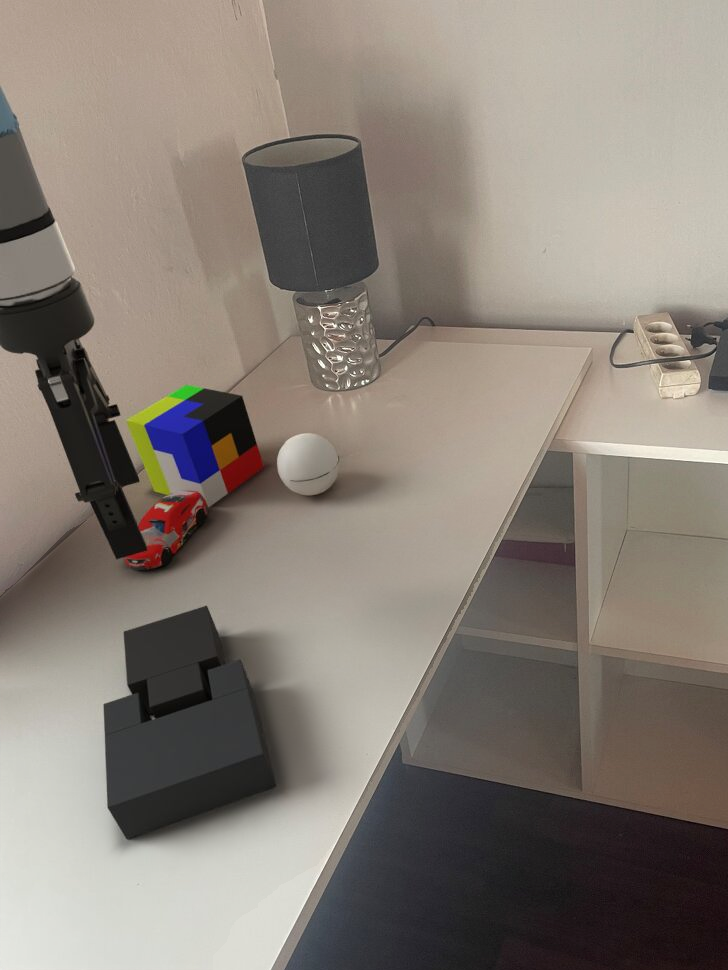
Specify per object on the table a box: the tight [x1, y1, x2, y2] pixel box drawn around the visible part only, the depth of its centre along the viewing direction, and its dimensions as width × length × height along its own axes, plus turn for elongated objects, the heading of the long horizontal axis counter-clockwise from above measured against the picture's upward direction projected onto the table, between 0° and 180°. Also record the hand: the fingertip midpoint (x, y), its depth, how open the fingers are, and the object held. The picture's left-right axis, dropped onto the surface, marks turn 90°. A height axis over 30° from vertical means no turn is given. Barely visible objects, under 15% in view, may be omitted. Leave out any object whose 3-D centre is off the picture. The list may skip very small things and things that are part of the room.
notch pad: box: [103, 659, 277, 840], centre depth 72 cm, size 12×12×4 cm
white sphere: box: [276, 432, 362, 496], centre depth 102 cm, size 10×7×7 cm
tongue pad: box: [123, 605, 226, 719], centre depth 79 cm, size 12×8×4 cm
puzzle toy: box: [125, 384, 265, 508], centre depth 108 cm, size 10×10×10 cm
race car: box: [123, 490, 209, 571], centre depth 99 cm, size 13×5×4 cm, turn 162°
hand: (128, 516), depth 81 cm, fingers open, 12 cm apart
